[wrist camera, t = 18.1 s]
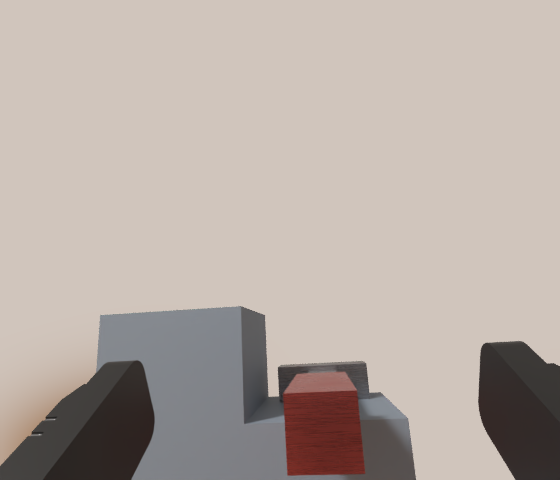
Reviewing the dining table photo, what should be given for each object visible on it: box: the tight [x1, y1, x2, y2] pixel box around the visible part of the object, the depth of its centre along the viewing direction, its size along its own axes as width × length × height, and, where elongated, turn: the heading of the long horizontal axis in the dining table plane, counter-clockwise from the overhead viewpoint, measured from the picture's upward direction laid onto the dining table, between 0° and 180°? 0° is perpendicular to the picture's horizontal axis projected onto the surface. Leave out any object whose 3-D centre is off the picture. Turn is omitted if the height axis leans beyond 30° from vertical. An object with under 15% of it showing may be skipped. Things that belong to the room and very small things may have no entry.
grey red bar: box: [278, 361, 370, 476], centre depth 26 cm, size 22×8×3 cm, turn 174°
